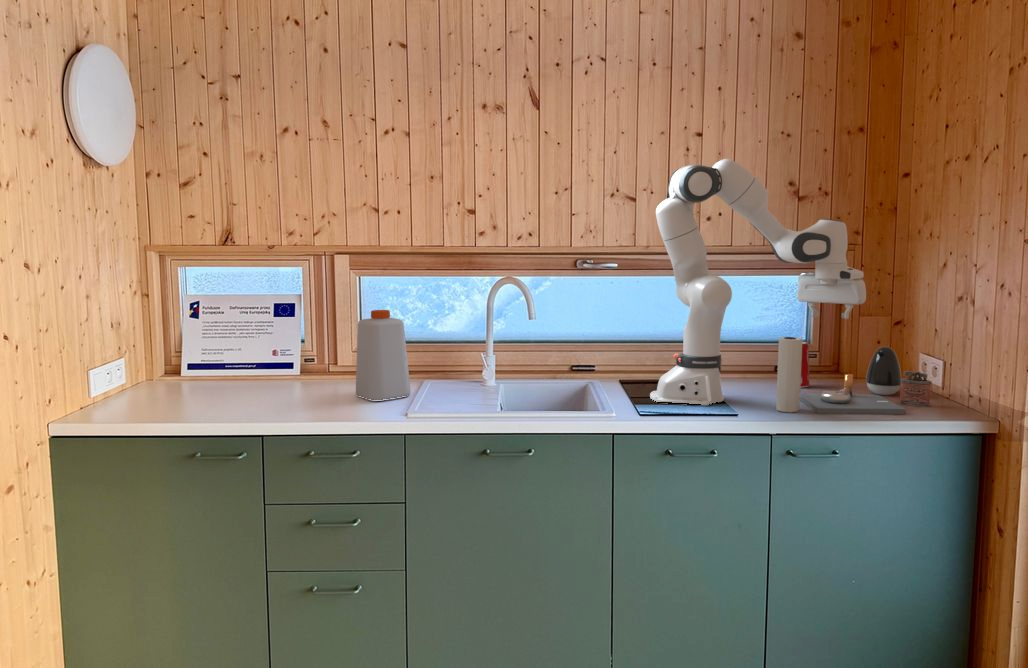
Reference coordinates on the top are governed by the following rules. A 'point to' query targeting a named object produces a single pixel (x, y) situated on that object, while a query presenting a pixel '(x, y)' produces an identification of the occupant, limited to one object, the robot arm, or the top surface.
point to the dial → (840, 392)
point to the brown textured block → (915, 389)
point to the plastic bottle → (381, 358)
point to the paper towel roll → (789, 374)
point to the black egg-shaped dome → (884, 372)
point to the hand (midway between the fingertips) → (829, 317)
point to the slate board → (853, 405)
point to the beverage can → (805, 365)
